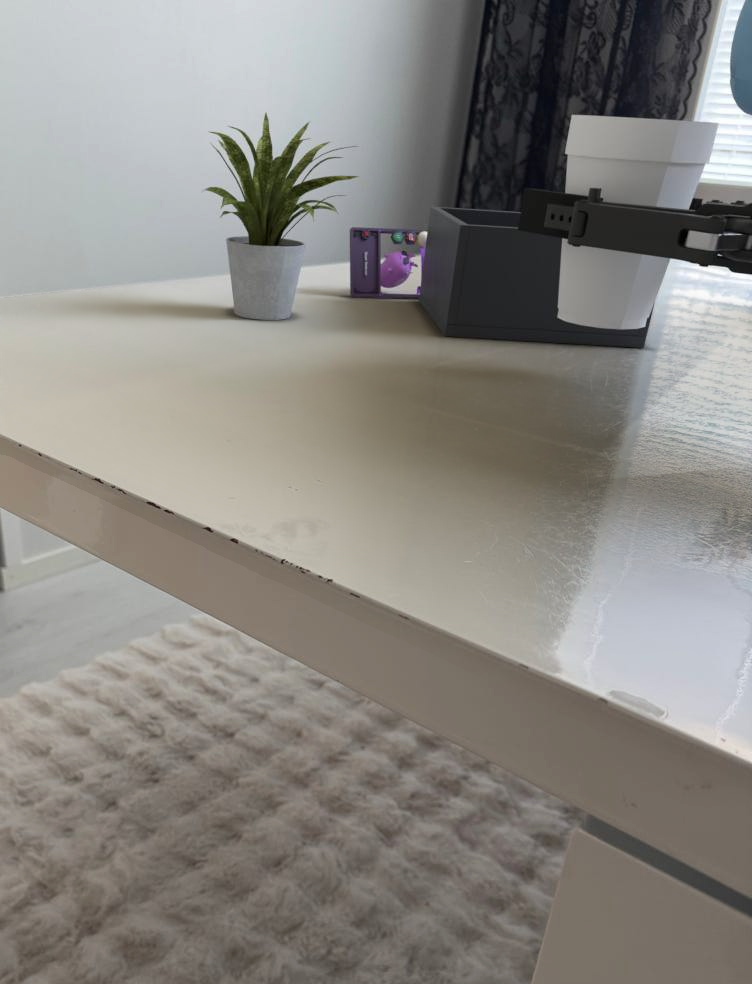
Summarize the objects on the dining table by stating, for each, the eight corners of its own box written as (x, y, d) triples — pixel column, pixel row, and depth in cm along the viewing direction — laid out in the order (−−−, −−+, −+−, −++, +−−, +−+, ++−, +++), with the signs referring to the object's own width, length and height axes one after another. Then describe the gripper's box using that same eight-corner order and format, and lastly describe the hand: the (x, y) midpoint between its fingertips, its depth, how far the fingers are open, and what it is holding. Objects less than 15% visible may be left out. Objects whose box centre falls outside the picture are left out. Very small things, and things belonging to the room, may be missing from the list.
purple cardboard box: (353, 225, 97) (435, 228, 99) (337, 237, 102) (416, 240, 104) (353, 294, 98) (435, 296, 100) (338, 303, 103) (416, 305, 105)
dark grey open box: (586, 311, 99) (606, 217, 95) (643, 348, 84) (670, 237, 80) (418, 301, 99) (430, 206, 95) (444, 336, 83) (460, 224, 79)
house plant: (285, 340, 78) (300, 112, 70) (150, 315, 84) (150, 102, 76) (364, 318, 89) (384, 118, 81) (239, 297, 95) (247, 109, 87)
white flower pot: (612, 307, 75) (652, 120, 69) (696, 332, 68) (750, 125, 62) (510, 309, 72) (543, 113, 66) (587, 335, 65) (632, 117, 58)
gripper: (730, 334, 50) (452, 268, 67) (950, 313, 60) (662, 260, 77) (774, 176, 46) (468, 147, 63) (1000, 182, 57) (687, 156, 73)
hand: (575, 209), depth 70 cm, fingers closed on white flower pot, 9 cm apart
